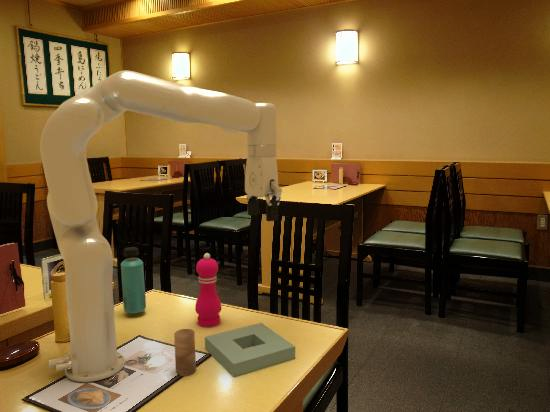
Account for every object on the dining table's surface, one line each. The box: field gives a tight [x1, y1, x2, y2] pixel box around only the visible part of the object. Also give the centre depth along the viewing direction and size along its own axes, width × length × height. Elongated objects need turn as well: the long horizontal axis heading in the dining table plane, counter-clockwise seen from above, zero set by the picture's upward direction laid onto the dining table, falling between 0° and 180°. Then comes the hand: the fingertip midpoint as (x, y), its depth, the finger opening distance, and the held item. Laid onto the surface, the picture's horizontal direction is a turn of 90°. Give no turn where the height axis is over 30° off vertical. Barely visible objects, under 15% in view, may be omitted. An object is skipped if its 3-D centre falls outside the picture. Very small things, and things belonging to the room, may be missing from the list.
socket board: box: [204, 322, 296, 378], centre depth 113 cm, size 16×16×3 cm
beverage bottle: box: [120, 246, 147, 314], centre depth 135 cm, size 6×7×20 cm
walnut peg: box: [173, 328, 197, 377], centre depth 104 cm, size 4×4×9 cm
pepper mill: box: [194, 252, 222, 328], centre depth 129 cm, size 7×7×20 cm
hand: (262, 217), depth 123 cm, fingers open, 9 cm apart
